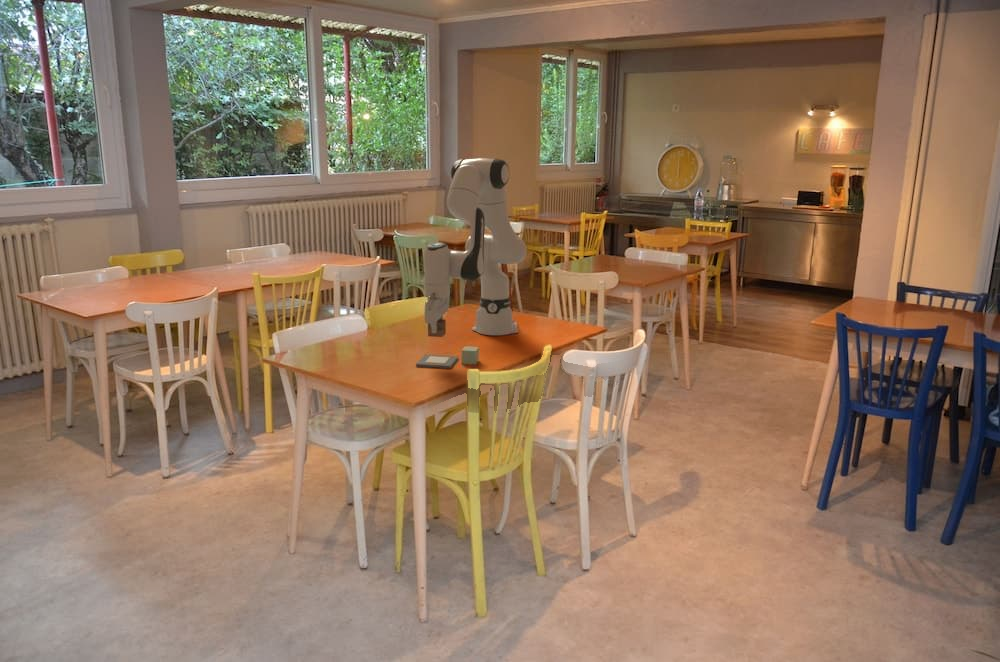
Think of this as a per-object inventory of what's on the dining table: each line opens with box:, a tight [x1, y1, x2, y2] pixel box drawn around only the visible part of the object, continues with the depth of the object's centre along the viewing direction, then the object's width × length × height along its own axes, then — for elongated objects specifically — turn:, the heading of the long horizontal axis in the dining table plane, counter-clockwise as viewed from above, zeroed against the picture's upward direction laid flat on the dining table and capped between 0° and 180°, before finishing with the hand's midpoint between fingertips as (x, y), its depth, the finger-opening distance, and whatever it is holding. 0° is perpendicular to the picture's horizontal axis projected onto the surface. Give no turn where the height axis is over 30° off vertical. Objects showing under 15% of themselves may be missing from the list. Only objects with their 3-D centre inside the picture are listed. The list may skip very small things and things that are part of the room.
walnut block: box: [427, 318, 447, 338], centre depth 269 cm, size 5×5×5 cm
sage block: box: [461, 346, 480, 365], centre depth 273 cm, size 5×5×5 cm
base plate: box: [415, 353, 459, 369], centre depth 272 cm, size 12×12×1 cm
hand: (436, 330), depth 269 cm, fingers closed on walnut block, 5 cm apart
